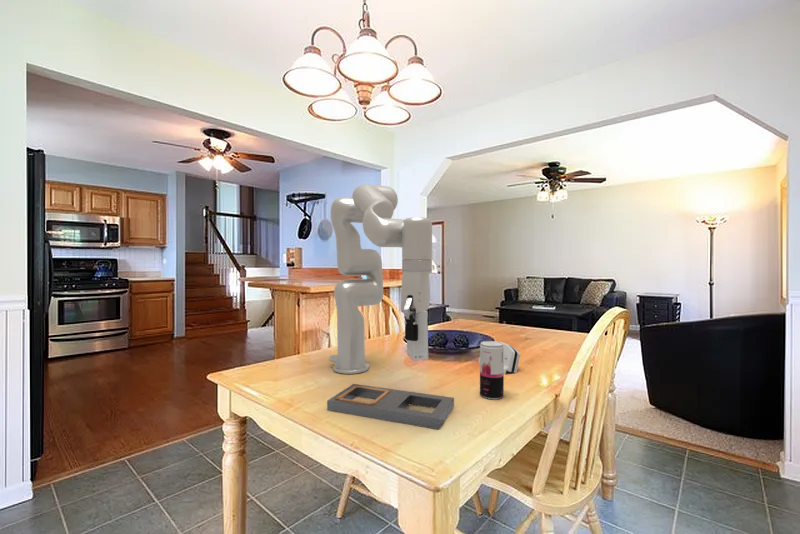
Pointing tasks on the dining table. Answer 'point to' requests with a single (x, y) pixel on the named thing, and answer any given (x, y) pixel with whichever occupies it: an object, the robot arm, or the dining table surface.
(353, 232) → the robot arm
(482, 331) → the dining table surface
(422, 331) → the skincare box
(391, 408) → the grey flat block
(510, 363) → the white curved block
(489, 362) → the beverage can
